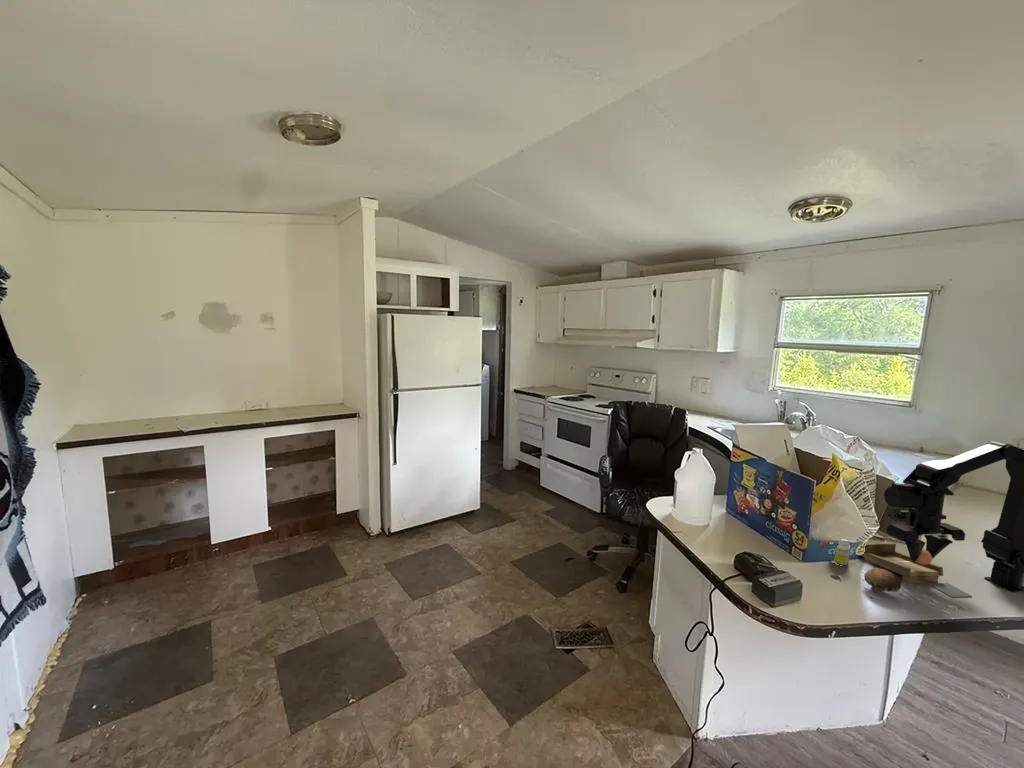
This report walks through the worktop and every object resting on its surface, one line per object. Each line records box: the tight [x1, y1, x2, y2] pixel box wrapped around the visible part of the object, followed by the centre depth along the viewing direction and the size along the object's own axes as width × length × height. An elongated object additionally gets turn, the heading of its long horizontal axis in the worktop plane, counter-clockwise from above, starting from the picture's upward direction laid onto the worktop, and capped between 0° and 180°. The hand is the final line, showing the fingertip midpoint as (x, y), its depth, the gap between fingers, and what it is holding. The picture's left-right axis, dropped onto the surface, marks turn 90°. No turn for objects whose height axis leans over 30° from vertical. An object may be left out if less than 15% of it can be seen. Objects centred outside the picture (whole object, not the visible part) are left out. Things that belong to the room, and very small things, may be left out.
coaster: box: [927, 582, 973, 598], centre depth 118 cm, size 6×6×1 cm
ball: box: [915, 548, 933, 565], centre depth 122 cm, size 4×4×4 cm
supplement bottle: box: [834, 539, 851, 567], centre depth 131 cm, size 5×5×8 cm
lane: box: [864, 541, 944, 584], centre depth 129 cm, size 11×16×5 cm
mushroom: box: [863, 567, 902, 594], centre depth 116 cm, size 8×8×6 cm
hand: (920, 560), depth 123 cm, fingers closed on ball, 4 cm apart
